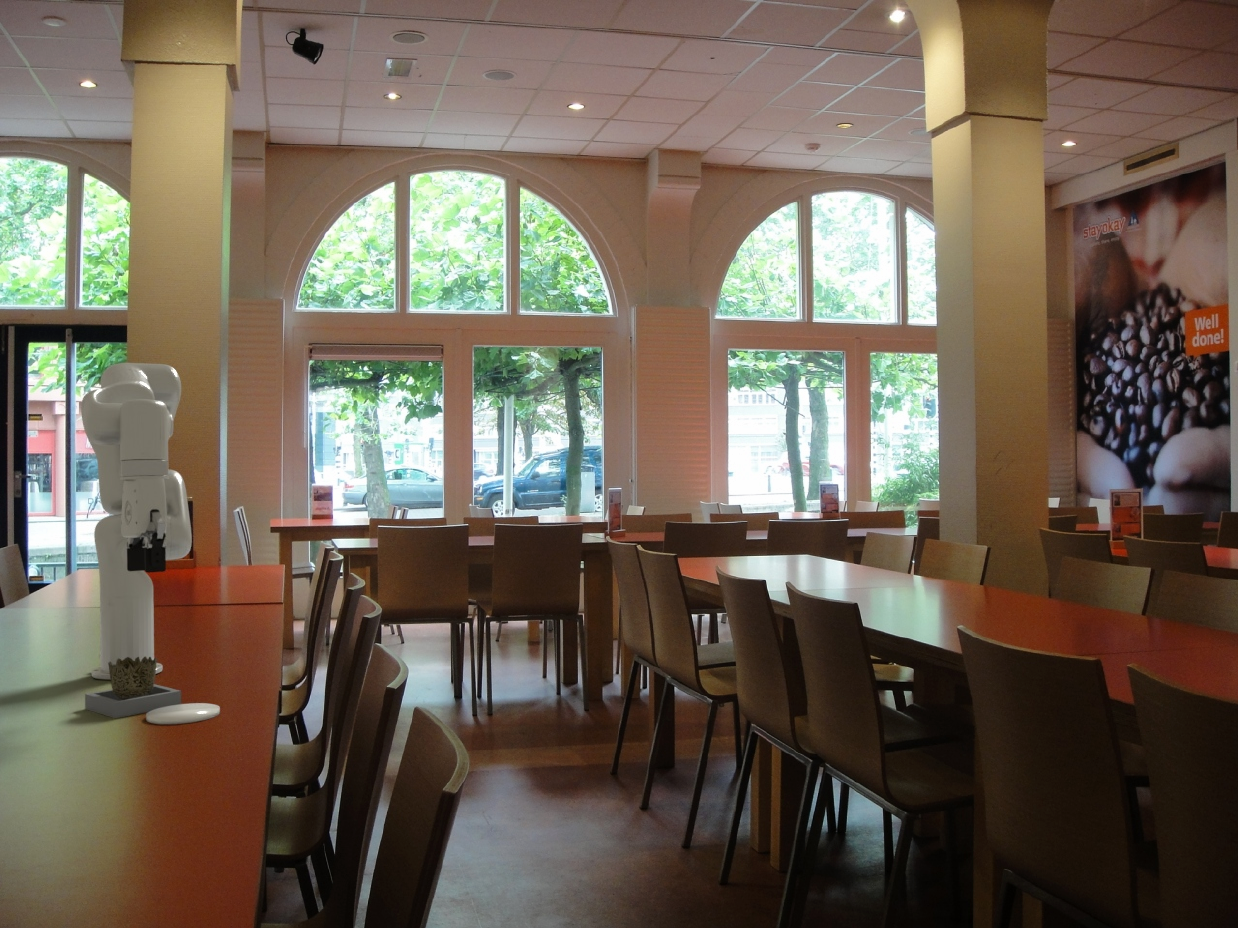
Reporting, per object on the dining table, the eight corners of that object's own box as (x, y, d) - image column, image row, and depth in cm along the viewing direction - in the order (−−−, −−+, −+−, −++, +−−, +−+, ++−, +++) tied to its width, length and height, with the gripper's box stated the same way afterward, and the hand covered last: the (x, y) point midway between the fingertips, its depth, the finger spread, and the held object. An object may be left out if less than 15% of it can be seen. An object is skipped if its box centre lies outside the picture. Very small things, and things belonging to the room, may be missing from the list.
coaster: (133, 717, 164) (133, 712, 164) (198, 704, 173) (198, 700, 173) (167, 727, 157) (167, 722, 157) (232, 714, 166) (232, 709, 166)
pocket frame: (85, 708, 171) (85, 693, 171) (149, 697, 179) (149, 682, 179) (115, 718, 164) (115, 702, 164) (181, 705, 173) (180, 690, 173)
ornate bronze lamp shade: (138, 713, 167) (137, 664, 167) (98, 711, 169) (98, 663, 169) (166, 702, 175) (166, 656, 175) (128, 701, 176) (128, 655, 176)
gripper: (106, 474, 179) (108, 571, 178) (137, 469, 166) (138, 574, 165) (151, 474, 184) (153, 568, 183) (184, 469, 171) (186, 571, 170)
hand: (146, 571), depth 174 cm, fingers open, 9 cm apart
